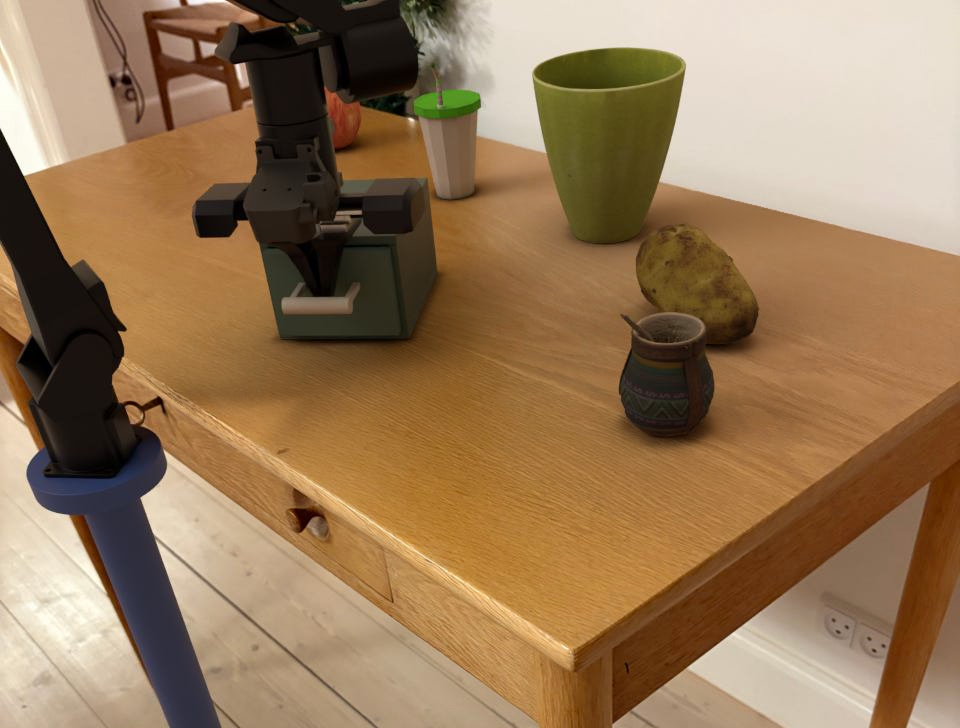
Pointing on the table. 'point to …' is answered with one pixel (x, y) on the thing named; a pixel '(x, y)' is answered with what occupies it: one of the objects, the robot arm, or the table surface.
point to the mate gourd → (667, 374)
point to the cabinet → (395, 263)
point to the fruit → (343, 119)
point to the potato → (696, 282)
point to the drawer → (337, 295)
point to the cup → (450, 137)
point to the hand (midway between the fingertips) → (326, 307)
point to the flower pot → (608, 134)
